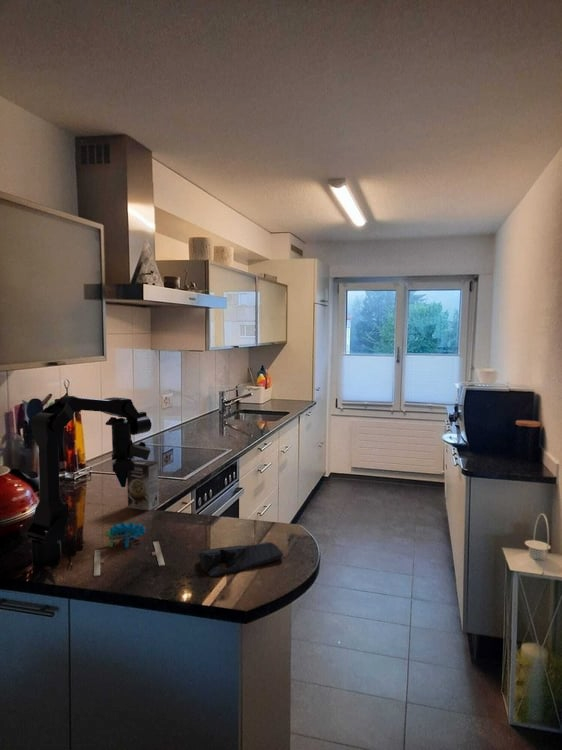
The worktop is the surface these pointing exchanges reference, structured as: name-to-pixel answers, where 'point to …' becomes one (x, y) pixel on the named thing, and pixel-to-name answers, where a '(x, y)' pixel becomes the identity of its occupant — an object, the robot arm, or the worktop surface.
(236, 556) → the dark grey stepped bar
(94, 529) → the worktop surface
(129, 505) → the coffee box
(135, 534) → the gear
